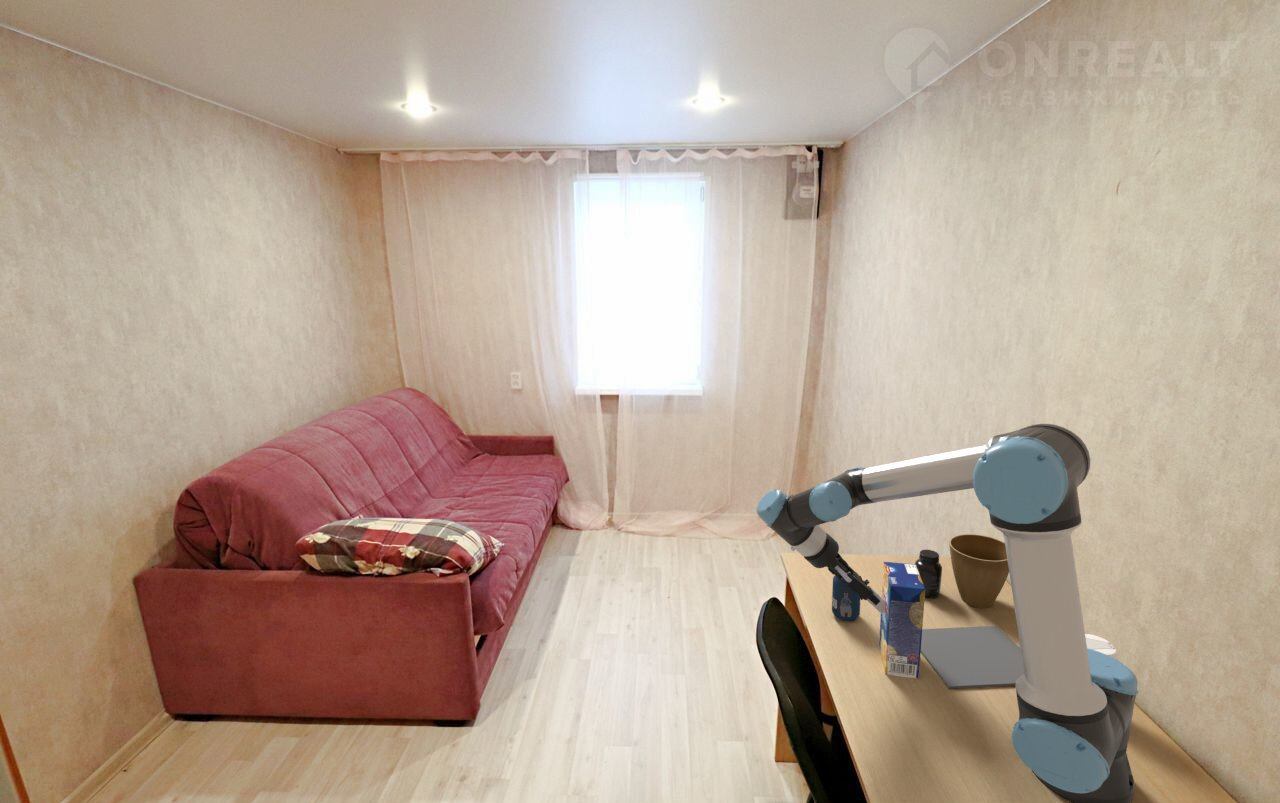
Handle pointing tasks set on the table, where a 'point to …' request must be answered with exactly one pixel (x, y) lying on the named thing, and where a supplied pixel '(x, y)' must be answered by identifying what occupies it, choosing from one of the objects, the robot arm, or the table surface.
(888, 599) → the beverage box
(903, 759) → the table surface
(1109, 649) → the paper cup
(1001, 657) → the mat
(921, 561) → the supplement bottle
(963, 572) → the plant pot
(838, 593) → the soda can
